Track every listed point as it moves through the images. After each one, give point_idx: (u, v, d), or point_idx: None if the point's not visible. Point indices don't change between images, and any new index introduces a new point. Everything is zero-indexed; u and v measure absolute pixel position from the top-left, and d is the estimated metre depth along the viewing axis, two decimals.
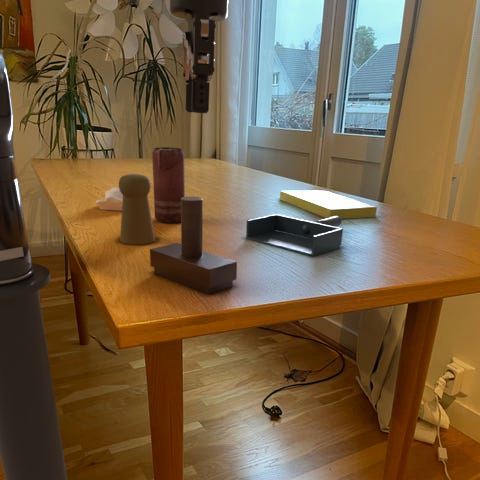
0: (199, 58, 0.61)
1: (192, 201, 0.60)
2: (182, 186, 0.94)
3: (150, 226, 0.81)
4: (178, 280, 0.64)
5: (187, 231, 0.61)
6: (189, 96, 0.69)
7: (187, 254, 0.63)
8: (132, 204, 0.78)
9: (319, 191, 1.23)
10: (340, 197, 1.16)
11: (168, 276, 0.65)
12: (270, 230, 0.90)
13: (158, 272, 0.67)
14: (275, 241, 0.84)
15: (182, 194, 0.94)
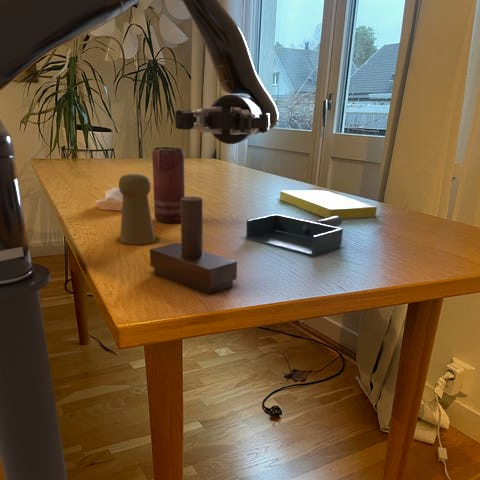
0: None
1: (192, 201, 0.60)
2: (182, 186, 0.94)
3: (150, 226, 0.81)
4: (178, 280, 0.64)
5: (187, 231, 0.61)
6: (189, 116, 0.69)
7: (187, 254, 0.63)
8: (132, 204, 0.78)
9: (319, 191, 1.23)
10: (340, 197, 1.16)
11: (168, 276, 0.65)
12: (270, 230, 0.90)
13: (158, 272, 0.67)
14: (275, 241, 0.84)
15: (182, 194, 0.94)
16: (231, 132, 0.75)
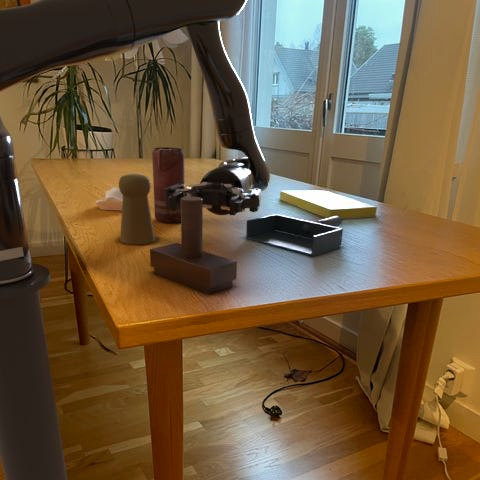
0: None
1: (192, 201, 0.60)
2: None
3: (150, 226, 0.81)
4: (178, 280, 0.64)
5: (187, 231, 0.61)
6: (179, 197, 0.69)
7: (187, 254, 0.63)
8: (132, 204, 0.78)
9: (319, 191, 1.23)
10: (340, 197, 1.16)
11: (168, 276, 0.65)
12: (270, 230, 0.90)
13: (158, 272, 0.67)
14: (275, 241, 0.84)
15: None
16: (222, 207, 0.75)
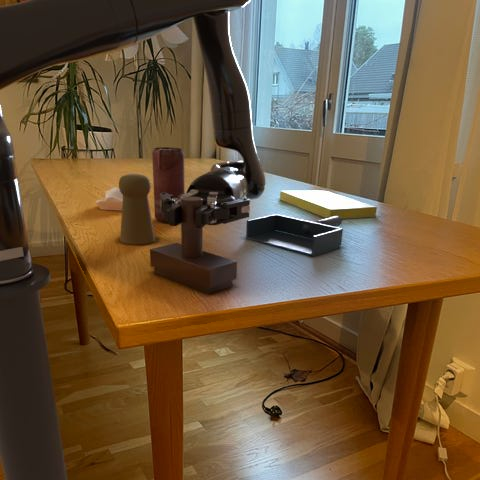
0: None
1: (192, 201, 0.60)
2: (182, 186, 0.94)
3: (150, 226, 0.81)
4: (178, 280, 0.64)
5: (187, 230, 0.61)
6: (179, 209, 0.61)
7: (187, 254, 0.63)
8: (132, 204, 0.78)
9: (319, 191, 1.23)
10: (340, 197, 1.16)
11: (168, 276, 0.65)
12: (270, 230, 0.90)
13: (158, 272, 0.67)
14: (275, 241, 0.84)
15: None
16: None
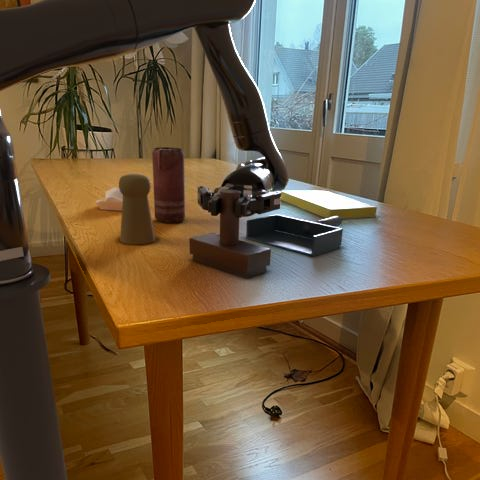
0: None
1: (231, 193, 0.66)
2: (182, 186, 0.94)
3: (150, 226, 0.81)
4: (216, 266, 0.70)
5: (226, 220, 0.67)
6: (219, 201, 0.67)
7: (225, 242, 0.69)
8: (132, 204, 0.78)
9: (319, 191, 1.23)
10: (340, 197, 1.16)
11: (206, 263, 0.71)
12: (270, 230, 0.90)
13: (196, 259, 0.73)
14: (275, 241, 0.84)
15: (182, 194, 0.94)
16: None
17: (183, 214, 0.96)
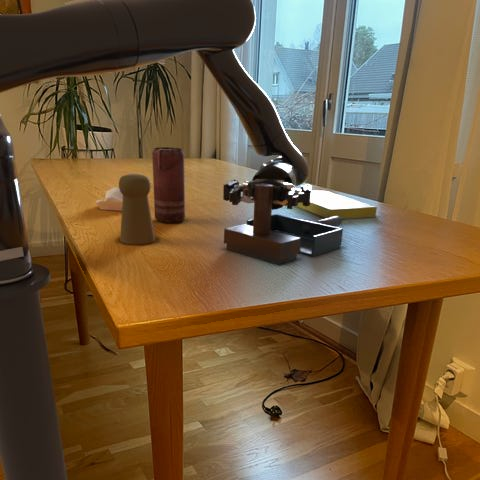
0: None
1: (266, 187, 0.72)
2: (182, 186, 0.94)
3: (150, 226, 0.81)
4: (250, 254, 0.76)
5: (260, 212, 0.74)
6: (239, 192, 0.74)
7: (258, 232, 0.75)
8: (132, 204, 0.78)
9: (319, 191, 1.23)
10: (340, 197, 1.16)
11: (240, 251, 0.78)
12: (270, 230, 0.90)
13: (230, 248, 0.79)
14: None
15: (182, 194, 0.94)
16: (274, 202, 0.80)
17: (183, 214, 0.96)
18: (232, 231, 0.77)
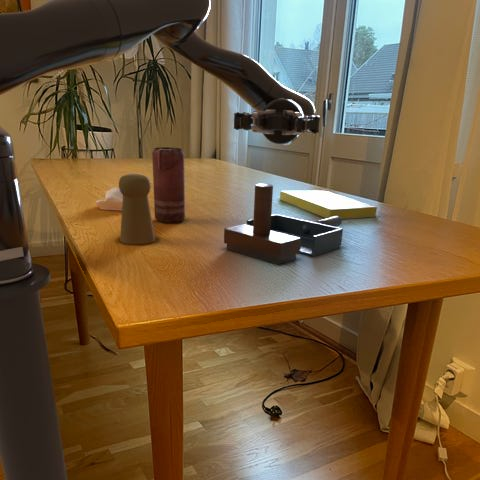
0: None
1: (266, 187, 0.72)
2: (182, 186, 0.94)
3: (150, 226, 0.81)
4: (250, 254, 0.76)
5: (260, 212, 0.74)
6: (249, 118, 0.76)
7: (258, 232, 0.75)
8: (132, 204, 0.78)
9: (319, 191, 1.23)
10: (340, 197, 1.16)
11: (240, 251, 0.78)
12: (270, 230, 0.90)
13: (230, 248, 0.79)
14: None
15: (182, 194, 0.94)
16: (283, 133, 0.82)
17: (183, 214, 0.96)
18: (232, 231, 0.77)
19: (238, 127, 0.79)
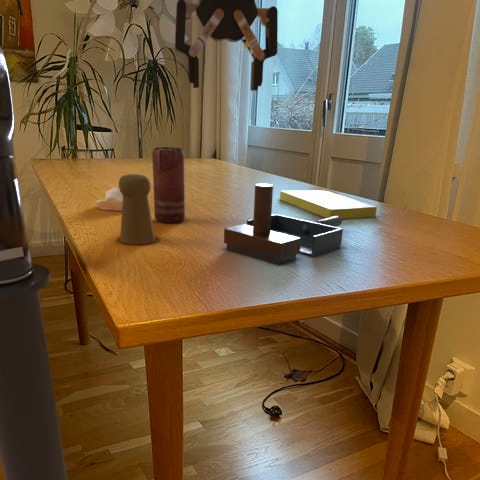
0: None
1: (266, 187, 0.72)
2: (182, 186, 0.94)
3: (150, 226, 0.81)
4: (250, 254, 0.76)
5: (260, 212, 0.74)
6: (198, 71, 0.67)
7: (258, 232, 0.75)
8: (132, 204, 0.78)
9: (319, 191, 1.23)
10: (340, 197, 1.16)
11: (240, 251, 0.78)
12: (270, 230, 0.90)
13: (230, 248, 0.79)
14: None
15: (182, 194, 0.94)
16: None
17: (183, 214, 0.96)
18: (232, 231, 0.77)
19: None
